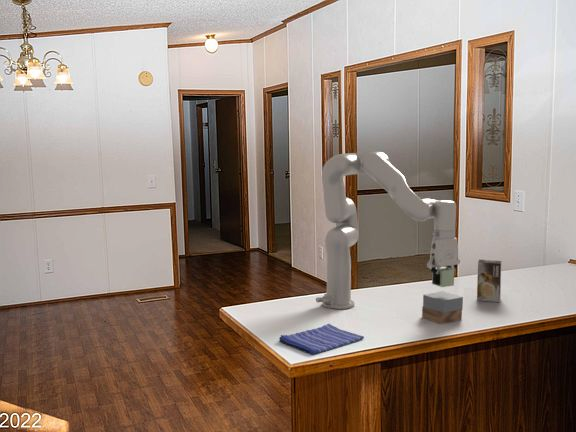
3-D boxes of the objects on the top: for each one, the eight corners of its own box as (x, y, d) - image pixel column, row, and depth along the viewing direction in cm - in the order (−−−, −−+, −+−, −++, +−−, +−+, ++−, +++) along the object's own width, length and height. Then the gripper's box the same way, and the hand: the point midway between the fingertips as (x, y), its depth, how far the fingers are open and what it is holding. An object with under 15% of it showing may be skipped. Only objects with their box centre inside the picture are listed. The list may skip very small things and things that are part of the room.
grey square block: (443, 313, 220) (443, 300, 220) (423, 306, 229) (423, 294, 228) (462, 308, 226) (462, 296, 225) (441, 302, 234) (442, 291, 233)
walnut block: (440, 325, 221) (441, 313, 220) (422, 318, 230) (422, 306, 229) (461, 321, 226) (461, 309, 225) (442, 314, 235) (442, 302, 234)
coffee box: (500, 298, 255) (502, 260, 253) (499, 302, 249) (501, 263, 247) (477, 296, 258) (479, 259, 256) (476, 300, 252) (477, 261, 250)
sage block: (442, 287, 222) (442, 270, 222) (431, 283, 227) (432, 268, 226) (453, 285, 225) (454, 269, 224) (443, 282, 230) (443, 266, 229)
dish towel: (276, 343, 202) (276, 335, 202) (328, 328, 218) (328, 320, 217) (312, 357, 190) (312, 348, 189) (364, 340, 205) (364, 332, 204)
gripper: (433, 237, 216) (431, 288, 219) (469, 234, 224) (467, 282, 227) (419, 234, 223) (417, 283, 225) (455, 231, 231) (453, 278, 233)
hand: (442, 282), depth 226 cm, fingers closed on sage block, 5 cm apart
